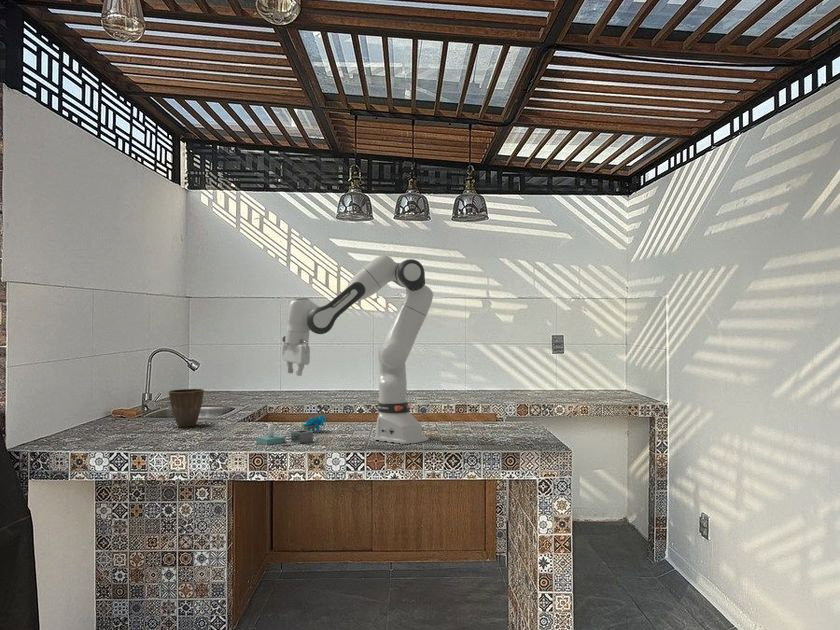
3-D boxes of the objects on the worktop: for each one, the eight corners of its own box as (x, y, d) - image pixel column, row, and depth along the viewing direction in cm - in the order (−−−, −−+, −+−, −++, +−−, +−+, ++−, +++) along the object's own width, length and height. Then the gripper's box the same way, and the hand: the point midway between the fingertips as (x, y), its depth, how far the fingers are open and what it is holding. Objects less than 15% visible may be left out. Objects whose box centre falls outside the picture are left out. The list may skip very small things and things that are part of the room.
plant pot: (161, 428, 287) (161, 391, 287) (181, 422, 301) (181, 388, 301) (191, 429, 283) (191, 392, 283) (210, 423, 298) (210, 389, 298)
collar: (312, 441, 252) (312, 431, 252) (299, 444, 248) (299, 433, 248) (304, 439, 256) (304, 429, 256) (291, 441, 252) (291, 431, 252)
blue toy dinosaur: (322, 425, 281) (327, 411, 275) (328, 436, 278) (332, 422, 271) (298, 431, 275) (302, 417, 269) (303, 442, 272) (307, 428, 266)
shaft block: (285, 442, 251) (285, 424, 251) (266, 445, 246) (266, 426, 246) (274, 439, 257) (274, 421, 257) (256, 442, 252) (256, 424, 252)
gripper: (315, 341, 248) (312, 377, 247) (295, 338, 265) (292, 372, 265) (299, 340, 244) (296, 377, 244) (280, 337, 262) (277, 371, 261)
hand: (294, 374), depth 255 cm, fingers open, 8 cm apart
